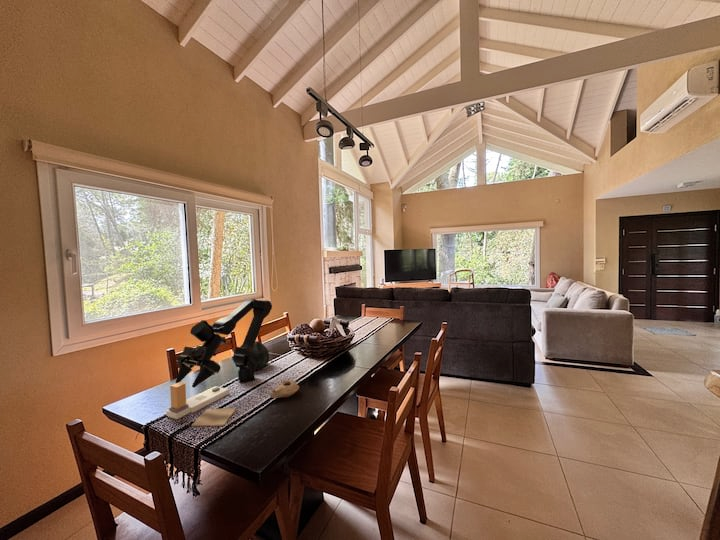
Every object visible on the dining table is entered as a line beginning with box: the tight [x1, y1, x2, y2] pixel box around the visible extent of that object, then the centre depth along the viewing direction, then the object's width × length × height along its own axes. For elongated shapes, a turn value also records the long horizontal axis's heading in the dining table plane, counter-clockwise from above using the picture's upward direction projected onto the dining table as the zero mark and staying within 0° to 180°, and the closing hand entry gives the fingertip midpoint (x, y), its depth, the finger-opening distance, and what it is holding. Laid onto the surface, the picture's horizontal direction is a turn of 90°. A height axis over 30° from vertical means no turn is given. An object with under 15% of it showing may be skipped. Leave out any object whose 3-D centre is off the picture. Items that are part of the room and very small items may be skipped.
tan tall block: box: [168, 381, 189, 413], centre depth 108 cm, size 4×4×11 cm
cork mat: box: [190, 407, 237, 428], centre depth 106 cm, size 11×11×1 cm
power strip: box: [165, 385, 230, 420], centre depth 116 cm, size 22×8×3 cm, turn 156°
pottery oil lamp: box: [269, 380, 300, 399], centre depth 121 cm, size 9×12×7 cm
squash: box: [253, 340, 270, 370], centre depth 153 cm, size 14×15×15 cm
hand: (184, 385), depth 110 cm, fingers open, 9 cm apart
